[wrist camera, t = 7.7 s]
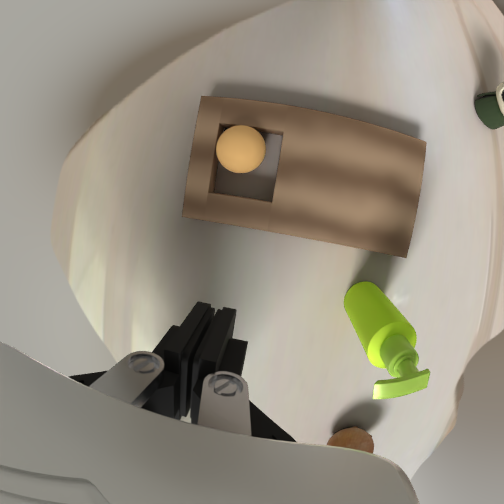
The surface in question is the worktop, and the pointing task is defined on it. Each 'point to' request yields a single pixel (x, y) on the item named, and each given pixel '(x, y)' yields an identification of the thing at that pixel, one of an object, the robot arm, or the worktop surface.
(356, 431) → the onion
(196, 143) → the board
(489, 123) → the character mug
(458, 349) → the worktop surface
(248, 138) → the ball
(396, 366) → the soap dispenser
